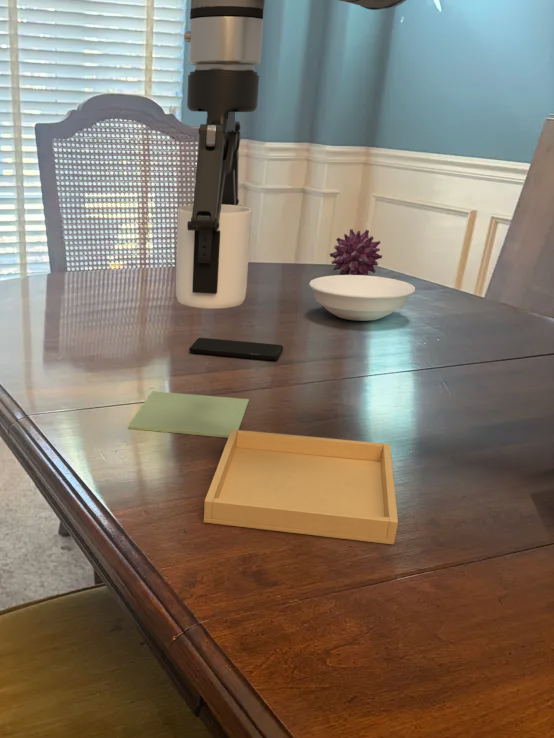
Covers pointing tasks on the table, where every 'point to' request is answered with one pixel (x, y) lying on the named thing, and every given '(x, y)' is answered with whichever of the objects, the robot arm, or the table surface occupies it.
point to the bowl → (360, 295)
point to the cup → (230, 259)
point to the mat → (190, 414)
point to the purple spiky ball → (356, 254)
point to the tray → (305, 486)
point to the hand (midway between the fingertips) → (213, 281)
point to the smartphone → (236, 348)
